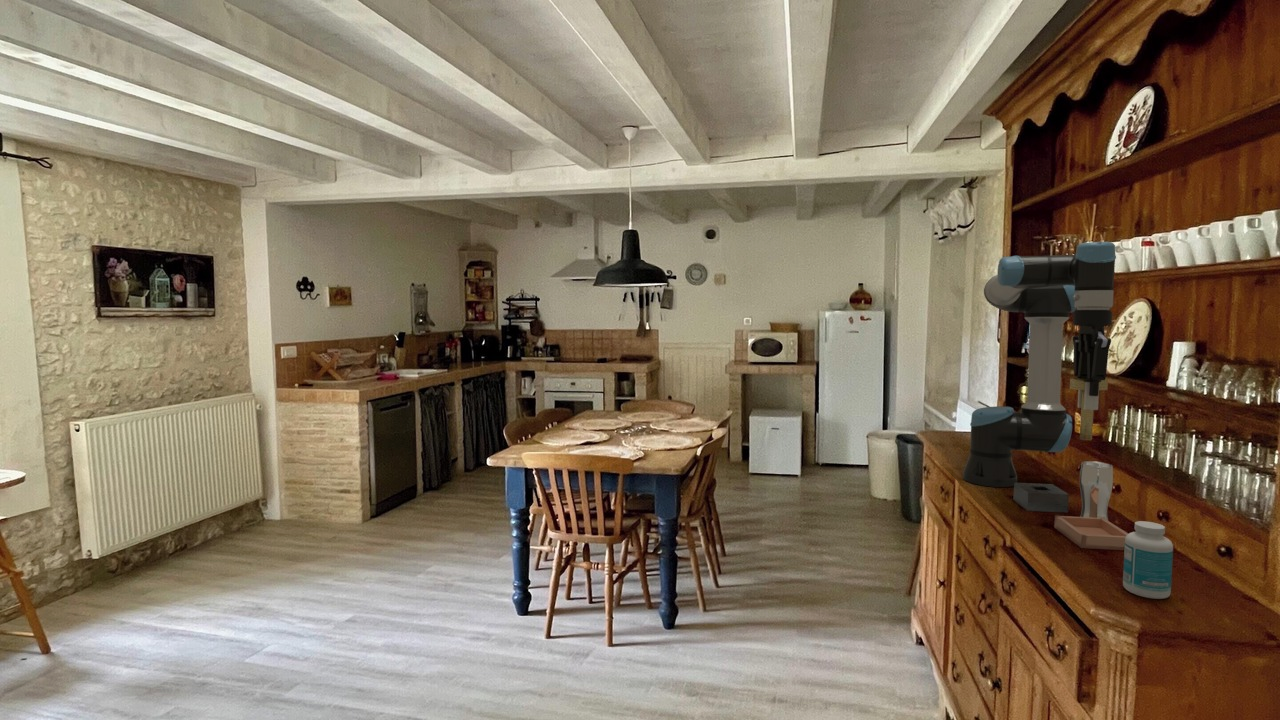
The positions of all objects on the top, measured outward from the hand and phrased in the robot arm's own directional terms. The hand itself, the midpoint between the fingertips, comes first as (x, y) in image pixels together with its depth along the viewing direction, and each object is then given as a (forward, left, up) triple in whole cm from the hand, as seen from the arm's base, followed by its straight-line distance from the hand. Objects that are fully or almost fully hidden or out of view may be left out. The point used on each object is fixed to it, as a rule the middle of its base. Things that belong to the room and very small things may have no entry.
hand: (1087, 408), depth 156 cm
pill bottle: (+31, -2, -32) cm, 44 cm away
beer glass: (-12, +8, -31) cm, 35 cm away
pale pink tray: (+1, +2, -31) cm, 31 cm away
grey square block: (-24, 0, -31) cm, 39 cm away
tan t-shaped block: (0, 0, -7) cm, 7 cm away
